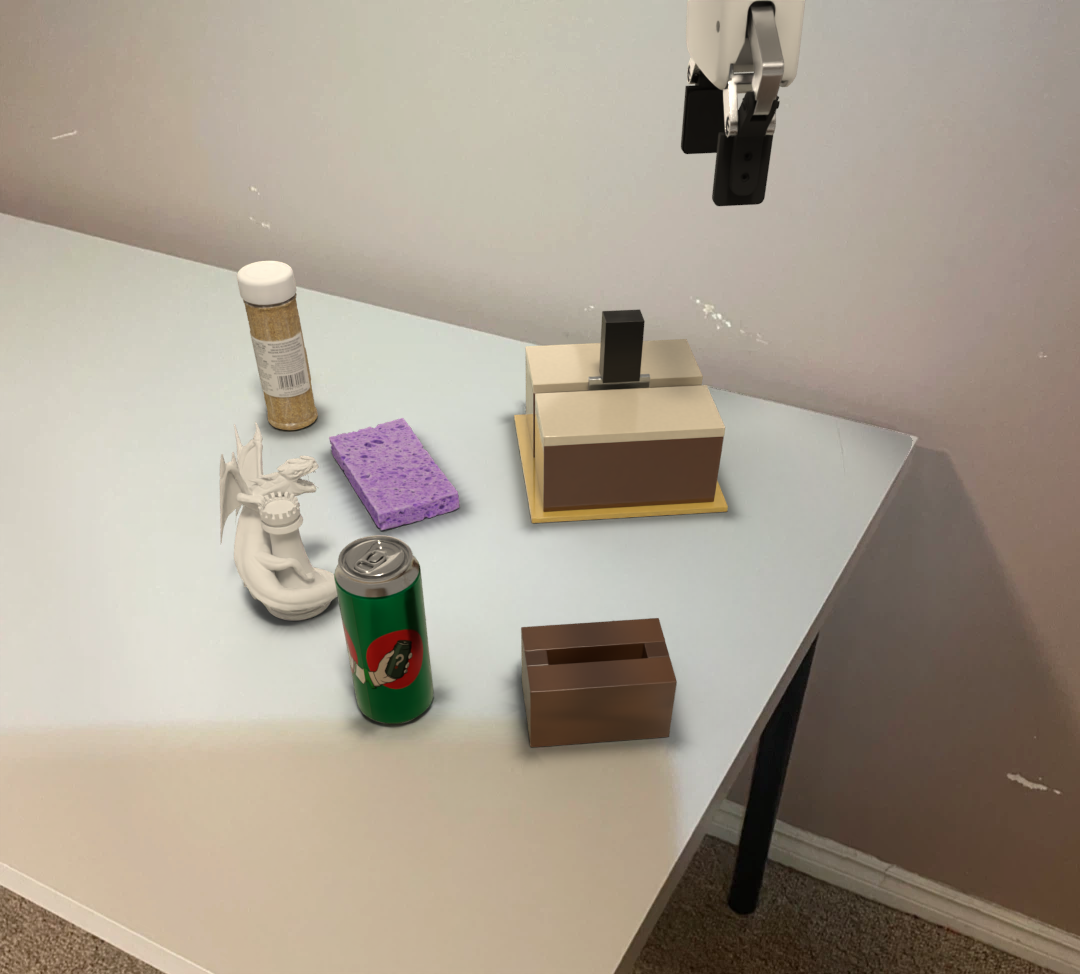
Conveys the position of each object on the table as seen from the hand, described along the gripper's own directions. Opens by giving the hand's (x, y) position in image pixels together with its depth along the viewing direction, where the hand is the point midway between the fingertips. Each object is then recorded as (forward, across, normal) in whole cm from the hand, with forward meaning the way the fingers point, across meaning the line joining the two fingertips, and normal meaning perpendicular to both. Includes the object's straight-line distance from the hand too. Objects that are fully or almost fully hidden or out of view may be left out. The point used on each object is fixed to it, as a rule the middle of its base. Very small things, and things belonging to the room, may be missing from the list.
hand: (719, 176), depth 67 cm
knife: (+24, +5, +5) cm, 25 cm away
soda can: (+25, -22, +24) cm, 41 cm away
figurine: (+24, -9, +32) cm, 41 cm away
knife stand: (+25, -24, +11) cm, 36 cm away
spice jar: (+24, +15, +33) cm, 44 cm away
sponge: (+24, +4, +24) cm, 34 cm away
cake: (+24, +5, +5) cm, 25 cm away
